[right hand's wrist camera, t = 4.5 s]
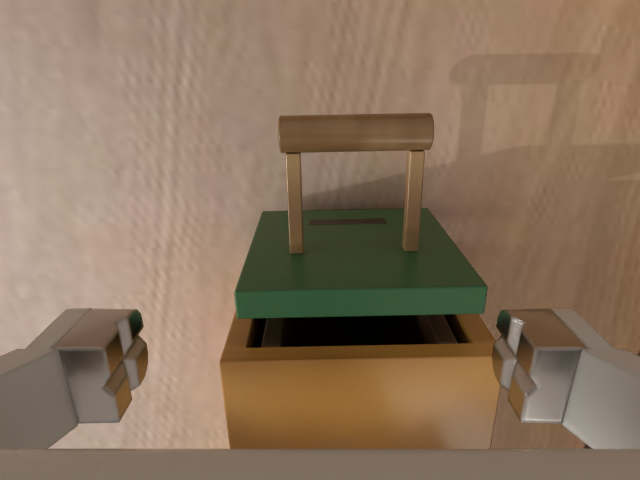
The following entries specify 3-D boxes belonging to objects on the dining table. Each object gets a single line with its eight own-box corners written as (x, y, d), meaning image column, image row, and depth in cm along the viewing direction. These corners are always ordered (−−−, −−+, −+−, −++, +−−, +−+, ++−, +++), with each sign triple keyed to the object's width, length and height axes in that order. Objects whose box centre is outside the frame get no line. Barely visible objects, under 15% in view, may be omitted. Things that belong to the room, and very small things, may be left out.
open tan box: (256, 243, 27) (218, 361, 16) (431, 240, 27) (506, 355, 16) (274, 483, 34) (256, 670, 24) (411, 480, 34) (454, 666, 24)
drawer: (254, 103, 23) (217, 130, 14) (436, 100, 23) (511, 124, 14) (279, 458, 32) (265, 608, 23) (408, 456, 32) (444, 604, 23)
